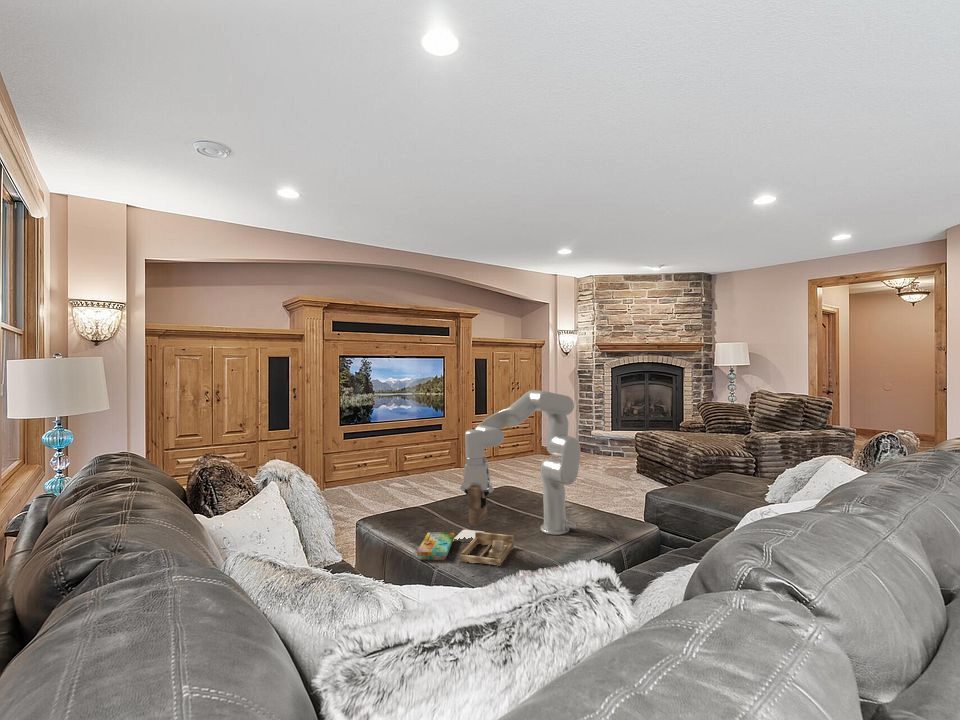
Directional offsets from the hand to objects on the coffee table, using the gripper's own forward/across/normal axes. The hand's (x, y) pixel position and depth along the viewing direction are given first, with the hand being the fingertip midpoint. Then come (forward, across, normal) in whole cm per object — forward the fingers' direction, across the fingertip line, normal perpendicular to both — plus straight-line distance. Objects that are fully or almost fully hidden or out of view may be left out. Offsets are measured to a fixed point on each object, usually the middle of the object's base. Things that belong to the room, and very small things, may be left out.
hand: (477, 506), depth 204 cm
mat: (+19, +11, -14) cm, 26 cm away
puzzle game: (+19, +18, +3) cm, 26 cm away
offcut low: (+19, -8, 0) cm, 21 cm away
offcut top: (+16, -8, 0) cm, 18 cm away
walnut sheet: (+5, 0, 0) cm, 5 cm away
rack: (+19, -3, +1) cm, 19 cm away
